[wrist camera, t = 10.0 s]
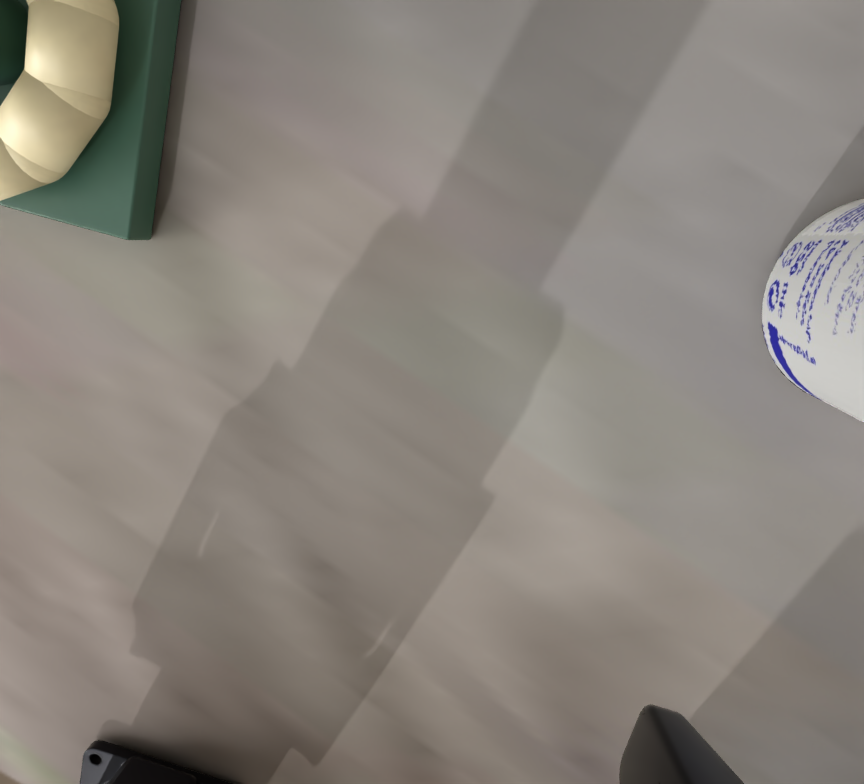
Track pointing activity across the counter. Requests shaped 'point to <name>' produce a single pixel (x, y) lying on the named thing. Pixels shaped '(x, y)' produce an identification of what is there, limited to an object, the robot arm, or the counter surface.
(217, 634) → the counter surface
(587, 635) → the counter surface
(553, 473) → the counter surface
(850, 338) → the beverage can
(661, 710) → the robot arm
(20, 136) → the ring
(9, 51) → the stand
